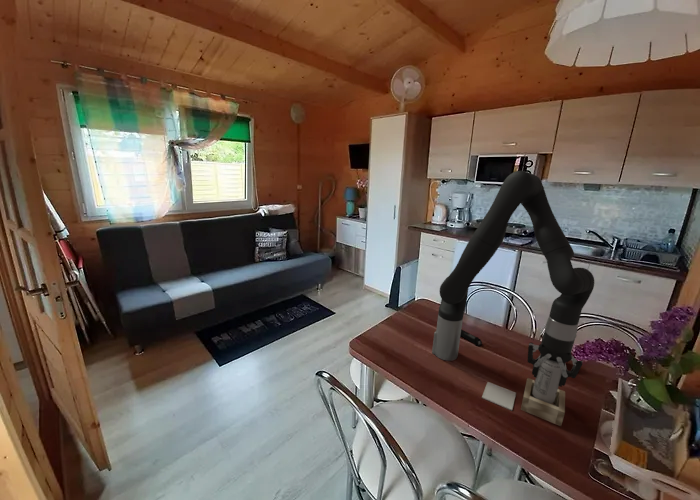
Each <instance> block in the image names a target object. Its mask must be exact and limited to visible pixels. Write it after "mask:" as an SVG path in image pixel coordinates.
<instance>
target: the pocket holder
mask: <svg viewBox="0 0 700 500" xmlns="http://www.w3.org/2000/svg"><path fill="white" fill-rule="evenodd" d="M534 383H535V380H534V379H531V378H529V377H527V379H526V382H525V388H524V392H523V396H522V400H521V407H520V410H521V411H523V412H525V413H527V414H530V415H532V416H534V417H538V418H540V419H542V420H544V421H548V422H549V423H551V424H555V425H557V426H559V427H562V424H563V421H564V417H565V415H566V414H565V413H566V391H565V390H563V389H559V388H558V390H557V393H556V397H555V401H554V403H552V404H549V403H547V402H544V401H541V400H539V399H536V398H534V396H533V394H532V391H533V387H534Z"/></svg>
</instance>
